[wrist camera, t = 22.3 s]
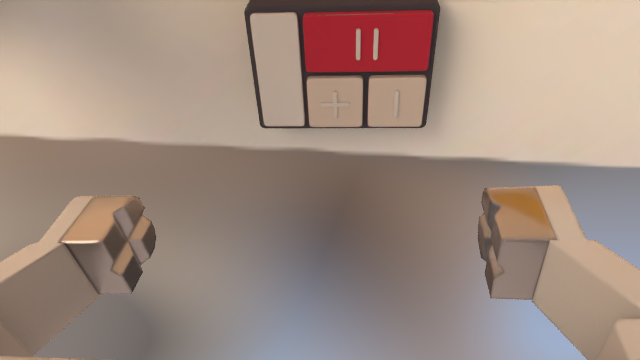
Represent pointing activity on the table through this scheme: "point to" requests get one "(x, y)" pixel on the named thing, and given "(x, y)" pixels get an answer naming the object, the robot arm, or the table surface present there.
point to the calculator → (342, 62)
